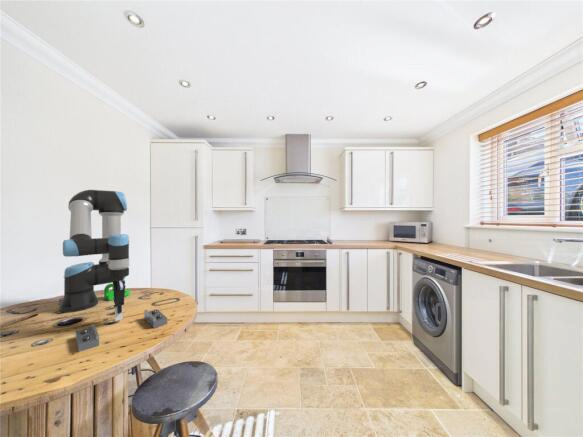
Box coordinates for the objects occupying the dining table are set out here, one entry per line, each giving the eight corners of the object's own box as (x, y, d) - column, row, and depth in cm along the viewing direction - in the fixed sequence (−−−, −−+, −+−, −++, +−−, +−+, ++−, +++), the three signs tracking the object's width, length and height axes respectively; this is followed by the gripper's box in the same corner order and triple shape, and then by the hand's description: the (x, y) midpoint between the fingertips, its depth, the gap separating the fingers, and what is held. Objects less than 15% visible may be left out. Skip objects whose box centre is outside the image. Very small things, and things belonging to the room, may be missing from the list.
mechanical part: (108, 300, 130) (108, 286, 130) (104, 298, 133) (104, 285, 133) (131, 294, 140) (131, 281, 140) (127, 292, 143) (127, 280, 143)
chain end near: (75, 338, 88) (75, 328, 88) (94, 333, 92) (93, 323, 92) (78, 353, 79) (78, 341, 79) (99, 346, 83) (99, 335, 83)
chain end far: (144, 318, 105) (144, 310, 105) (157, 315, 110) (157, 306, 110) (153, 328, 96) (153, 319, 96) (167, 324, 100) (167, 315, 100)
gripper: (105, 267, 103) (105, 317, 103) (111, 271, 94) (111, 327, 94) (125, 264, 109) (125, 312, 109) (132, 268, 100) (132, 321, 100)
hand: (118, 319), depth 101 cm, fingers closed
